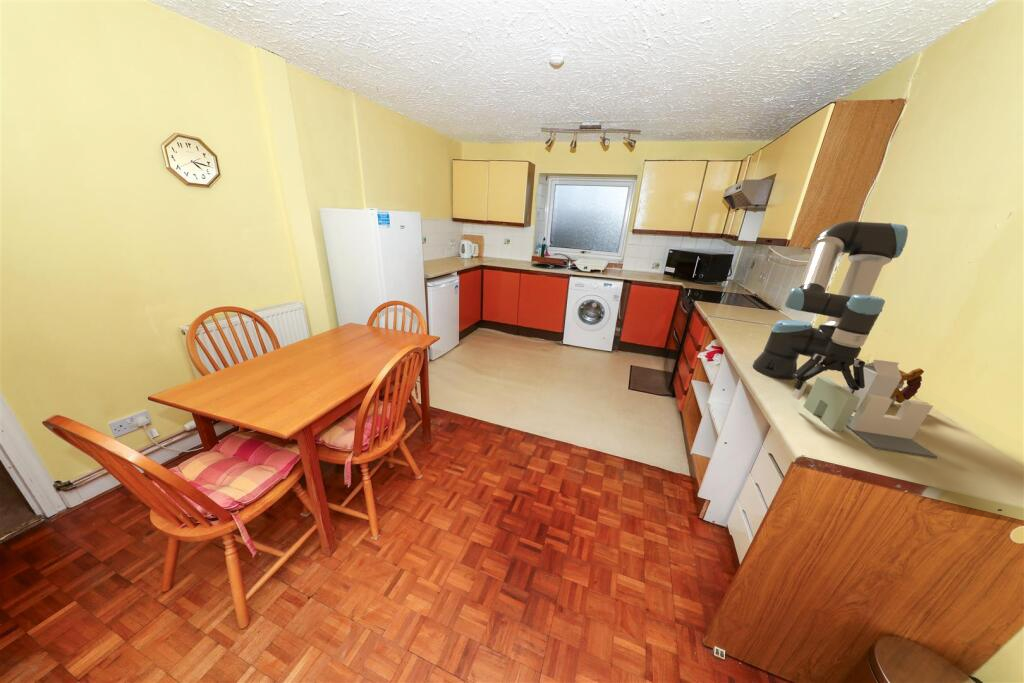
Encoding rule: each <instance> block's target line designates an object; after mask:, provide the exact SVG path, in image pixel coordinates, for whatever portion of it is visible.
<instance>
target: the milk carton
mask: <svg viewBox="0 0 1024 683" xmlns="http://www.w3.org/2000/svg"><path fill="white" fill-rule="evenodd" d="M899 364H900V363H899V362H897V361H888V360H880V359H873V361H872V362H868V363H865V365H864V368H863V370H864V382H865V388H860V389H859V390H855V391H854V393H853V395H855V396H857V397H858V398H860V401H859V402H858V404H857V406H856V408H855V410H854V412H855V413H856V412H857V410H858V408H859V406H860V405H861V403H862V401H863V399H864V397H865V396H866V394H870V395H877V396H884V397H888V398H890V397H891V395H892V394H893V392H894V390H895V389H896V387H897V385H898V383H899V382H900V380H901V378H902V377H901V374H900V371H899V370H900V369H899Z"/></svg>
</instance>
